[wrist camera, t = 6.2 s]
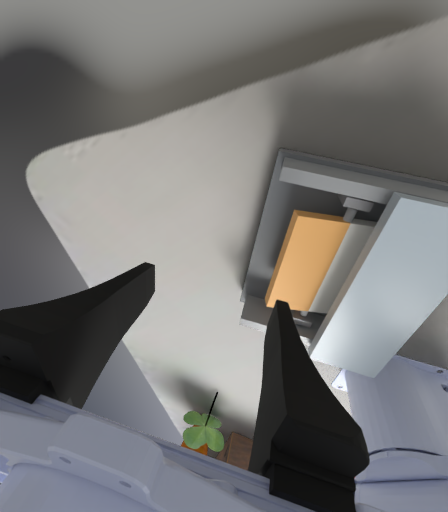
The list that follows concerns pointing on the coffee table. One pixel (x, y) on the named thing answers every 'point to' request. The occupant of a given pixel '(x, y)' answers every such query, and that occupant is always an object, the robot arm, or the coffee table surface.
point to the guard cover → (388, 287)
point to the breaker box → (324, 202)
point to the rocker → (317, 259)
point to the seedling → (203, 431)
